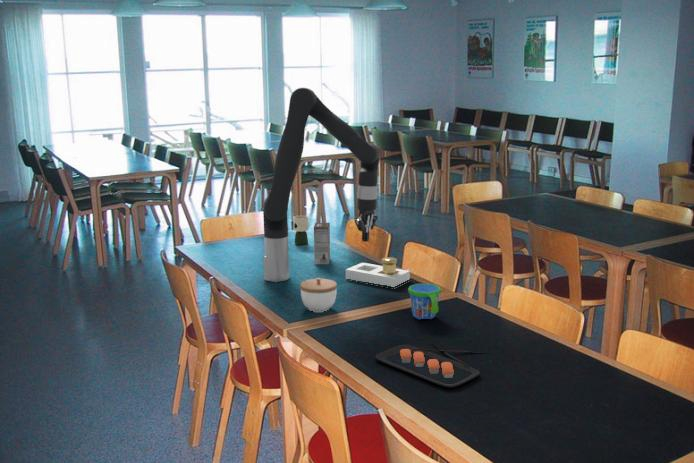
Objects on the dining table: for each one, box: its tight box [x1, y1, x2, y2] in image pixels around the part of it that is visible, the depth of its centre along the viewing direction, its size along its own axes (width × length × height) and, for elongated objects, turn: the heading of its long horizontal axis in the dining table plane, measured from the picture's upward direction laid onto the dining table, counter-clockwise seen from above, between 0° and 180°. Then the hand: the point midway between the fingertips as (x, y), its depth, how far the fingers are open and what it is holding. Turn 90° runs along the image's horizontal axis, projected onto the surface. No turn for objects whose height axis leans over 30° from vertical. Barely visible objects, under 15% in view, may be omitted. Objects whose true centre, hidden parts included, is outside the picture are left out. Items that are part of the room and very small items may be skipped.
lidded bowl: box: [299, 277, 338, 313], centre depth 249 cm, size 13×13×11 cm
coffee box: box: [313, 222, 331, 265], centre depth 308 cm, size 9×6×16 cm
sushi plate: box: [374, 343, 481, 388], centre depth 207 cm, size 29×30×4 cm
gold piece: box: [381, 256, 398, 275], centre depth 280 cm, size 6×6×9 cm
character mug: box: [292, 215, 310, 245], centre depth 338 cm, size 11×7×13 cm, turn 14°
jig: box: [345, 262, 411, 287], centre depth 283 cm, size 12×22×4 cm, turn 56°
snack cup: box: [407, 283, 442, 320], centre depth 241 cm, size 16×10×10 cm
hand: (365, 241), depth 279 cm, fingers closed
